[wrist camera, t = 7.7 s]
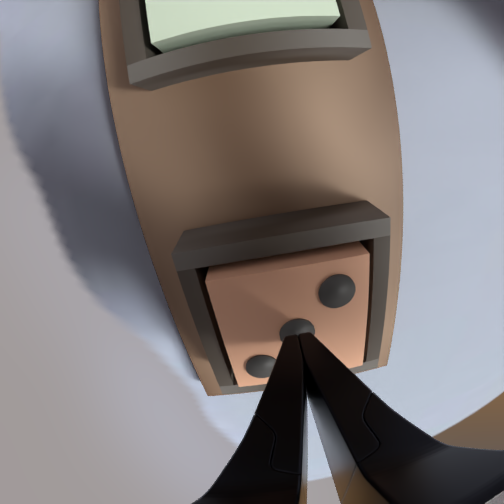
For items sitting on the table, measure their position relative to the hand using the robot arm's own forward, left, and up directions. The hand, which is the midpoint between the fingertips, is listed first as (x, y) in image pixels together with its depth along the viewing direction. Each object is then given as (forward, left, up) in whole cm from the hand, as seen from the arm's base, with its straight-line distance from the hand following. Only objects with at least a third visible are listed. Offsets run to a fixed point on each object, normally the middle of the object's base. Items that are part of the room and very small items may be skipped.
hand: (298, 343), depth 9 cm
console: (0, -12, -4) cm, 13 cm away
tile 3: (0, 0, -3) cm, 3 cm away
